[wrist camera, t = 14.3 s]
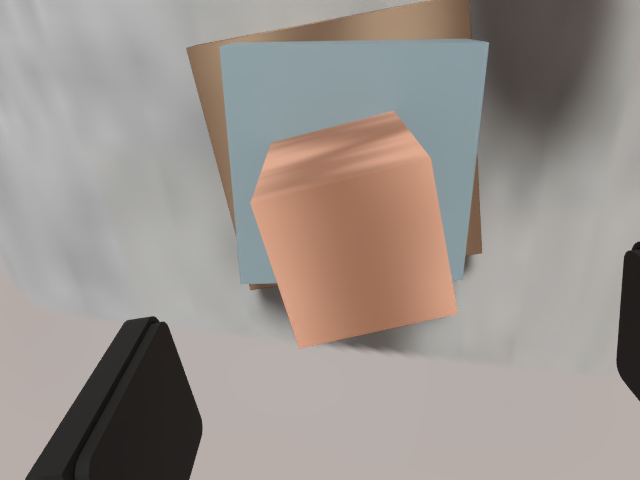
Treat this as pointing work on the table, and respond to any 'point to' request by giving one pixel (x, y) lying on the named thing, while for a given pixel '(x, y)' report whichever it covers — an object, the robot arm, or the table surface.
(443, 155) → the top block
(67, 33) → the table surface
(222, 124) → the base block
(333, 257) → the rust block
